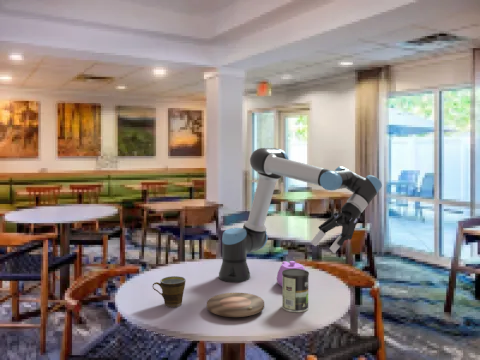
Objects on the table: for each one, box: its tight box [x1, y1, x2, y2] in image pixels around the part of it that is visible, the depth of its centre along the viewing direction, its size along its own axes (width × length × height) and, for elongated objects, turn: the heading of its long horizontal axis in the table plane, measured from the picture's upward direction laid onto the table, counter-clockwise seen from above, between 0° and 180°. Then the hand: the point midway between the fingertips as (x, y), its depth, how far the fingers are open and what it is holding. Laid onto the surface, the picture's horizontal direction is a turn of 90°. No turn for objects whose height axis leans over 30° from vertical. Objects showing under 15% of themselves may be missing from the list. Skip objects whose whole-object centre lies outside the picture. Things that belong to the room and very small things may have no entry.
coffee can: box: [281, 269, 310, 313], centre depth 159 cm, size 10×10×14 cm
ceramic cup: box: [151, 276, 186, 308], centre depth 162 cm, size 13×10×10 cm
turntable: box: [206, 292, 265, 318], centre depth 157 cm, size 22×22×4 cm
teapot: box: [276, 260, 305, 287], centre depth 185 cm, size 13×20×11 cm
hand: (322, 247), depth 162 cm, fingers open, 13 cm apart
